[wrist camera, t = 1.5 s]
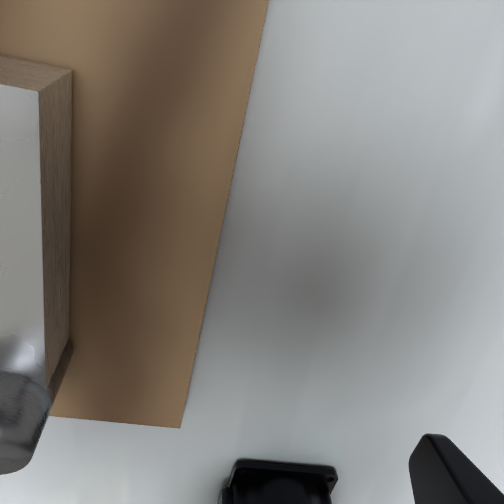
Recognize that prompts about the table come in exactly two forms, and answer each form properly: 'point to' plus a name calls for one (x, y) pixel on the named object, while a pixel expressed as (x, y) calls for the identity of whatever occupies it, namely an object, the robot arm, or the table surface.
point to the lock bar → (33, 250)
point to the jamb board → (142, 183)
